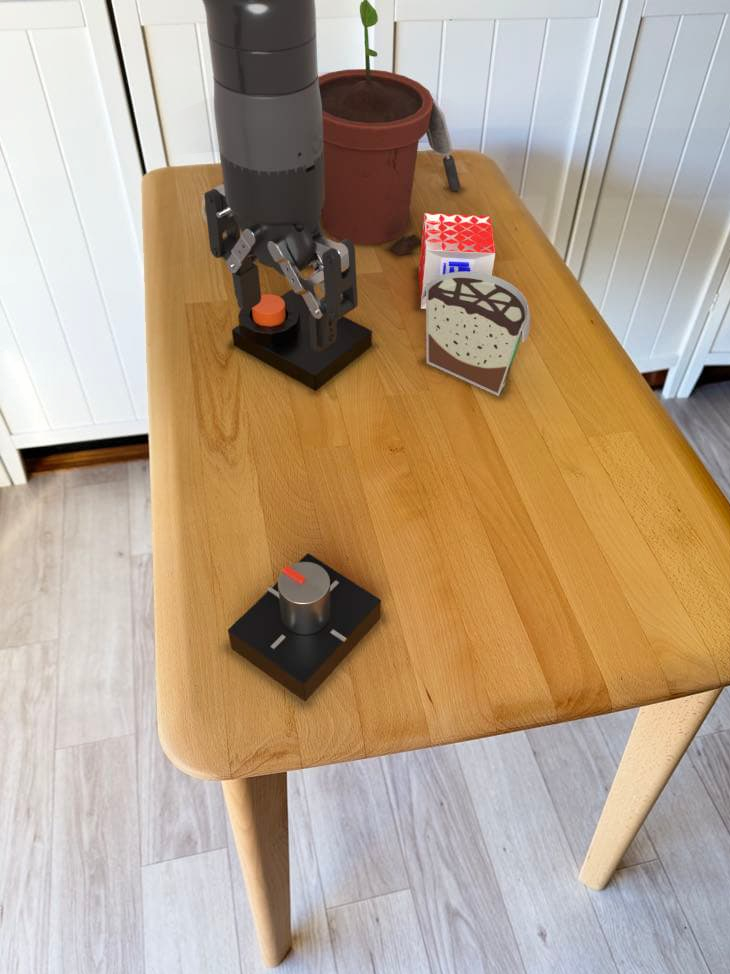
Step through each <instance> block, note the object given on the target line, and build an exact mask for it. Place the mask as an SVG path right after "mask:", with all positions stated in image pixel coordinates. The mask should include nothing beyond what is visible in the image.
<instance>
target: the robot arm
mask: <svg viewBox="0 0 730 974" xmlns="http://www.w3.org/2000/svg"><path fill="white" fill-rule="evenodd" d="M201 1H202V4H203V7H204V11H205V17H206V18H205V19H206V28H207V29H206V30H207V37H208V45H209V53H210V61H211V69H212V74H213V75H212V76H213V77H212V78H213V113H214V121H215V128H216V136H217V137H216V138H217V143H218V144H217V145H218V152H219V160H220V167H221V175H222V183H221V184H219V185H217V186H215V187H214V188H212V190H210V191H208V192H206V191H205V192H204V195H205V205H206V215H207V222H206V224H207V233H208V241H209V249H210V252H211V254H212V256H213V257H215V258H216V259H220V258H222V259H223V260H224V261H225V264H226V268H227V269H228V271H229V272H231V277H232V282H233V288H234V290H233V291H234V295H235V298H236V300H237V306H238V308H240V310H241V309H243V310H245V311H248V310H250V309H251V308H253V307H254V306H256V305H257V304H259V303H260V301H261V295H262V292H261V283H260V282H261V281H260V273H259V265H258V264H256V263H254V262H256V261H257V259H258V263H259V264H260V265H263V266H265V267H269V268H272V269H273V270H275V271H276V272H277V273H278V274H280V275H282V276H283V277H285V278H286V280H287V282H288V283H289V285H290V287H291V290H293V291H294V292H295V293H296V294H300V295H302V297H303V299H304V300H305V302H306V304H307V306H308V308H309V310H310V312H311V314H310V315H309V321H310V340H311V348H312V349H313V350H315V351H317V352H321V351H322V350H324V349H325V348H326V347H328V346H329V345H330V344H332V343H333V342H335V340H336V338H337V328H336V327H337V321H338V320H339V319H341V317H343V316H344V317H345V316H346V315H347V314H348V313H350V312H351V311H353V310H355V309H356V308H357V307H358V304H359V303H358V283H357V265H356V264H357V263H356V261H357V260H356V247H355V245H354V244H355V243H352V242H351V241H350V240H348V239H345V240H342V241H340V242H336V241H334V240H331V239H329V238H327V237H325V233H324V231H323V229H322V226H321V222H320V219H321V210H322V207H323V204H324V201H325V173H324V140H323V111H322V101H321V95H320V89H319V82H318V77H319V73H318V70H319V69H318V42H317V39H318V38H317V37H318V36H317V10H316V1H315V0H201ZM239 227H240V228H239ZM240 229H241V231H242V234H241V238H240ZM224 231H226V236H224V235H223V232H224ZM310 263H312V264H311V265H312V267H313V272H312V273H311V274H310V275H308V276H306V277H305V278H304V277H303V276H302V274H301V272H302V271H303V270H305V269H306V268H308V267H309V266H308V265H309V264H310ZM307 266H308V267H307ZM316 286H318V288H319V289H320V291H321V293H322V295H323V297H322V298H319V296H318V294H317V292H316V291H315V290H316V289H315V287H316Z"/></svg>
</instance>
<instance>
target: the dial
mask: <svg viewBox="0 0 730 974" xmlns="http://www.w3.org/2000/svg"><path fill="white" fill-rule="evenodd" d="M277 582H278V590H279V599H280V609H281V618H282V621H283V623H284V625H285V626H286V627H287V628H288V629H289V630H290V631H292V632H294V633H297V634H302V635H308V634H313V633H316V632H318V631H320V630H321V629H323V628H324V627H325V626H326V625H327V623H328V621H329V619H330V579H329V576H328V574H327V572H326V571H325V570H324V569H323V568H322V567H321V566H319V565H317V564H315V563H311V562H299V561H297V562H295V563H292V564H290V565H286V566H284V567H283V568H282V571H281V573H280V575H279V577H278V581H277Z"/></svg>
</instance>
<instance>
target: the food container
mask: <svg viewBox="0 0 730 974" xmlns="http://www.w3.org/2000/svg"><path fill="white" fill-rule="evenodd" d="M425 296H426V309H425V314H426V315H425V319H426V320H425V324H426V325H425V326H426V327H425V328H426V329H425V331H426V332H425V335H426V336H425V337H426V339H425V340H426V341H425V342H426V343H425V344H426V353H425V354H426V355H425V356H426V364H427V365H430V366H432V367H434V368H436V369H439V370H441V371H442V372H445V373H447V374H449V375H451V376H453V377H456V378H458V379H460V380H463V381H465V382H467V383H468V384H471V385H473V386H476V387H478V388H480V389H482V390H483V391H486V392H488V393H491V394H493V395H496V396H497V397H500V395H501V394H502V393H503V391H504V388H505V385H506V383H507V379H508V377H509V374H510V371H511V368H512V365H513V362H514V359H515V356H516V353H517V350H518V347H519V344H520V341H522V343H525V342H526V340H527V339H528V337H529V334H530V330H531V314H530V307H529V305H528V302H527V299H526V297H525V295H524V294H523V293H522V292H521V290H519V289H518V288H517V287H516V286H515V285H514V284H511V283H510V282H509V281H507V280H506V279H503V278H500V277H498V276H495V275H493V274H492V275H489V274H485V273H479V272H468V271H466V272H453V273H448V274H444V275H441V276H438V277H436V278H434V279H432V280H431V281H429V282H428V283H427V285H426V287H424V290H423V293H422V296H421V299H423V298H424V297H425ZM521 338H522V339H521Z"/></svg>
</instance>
